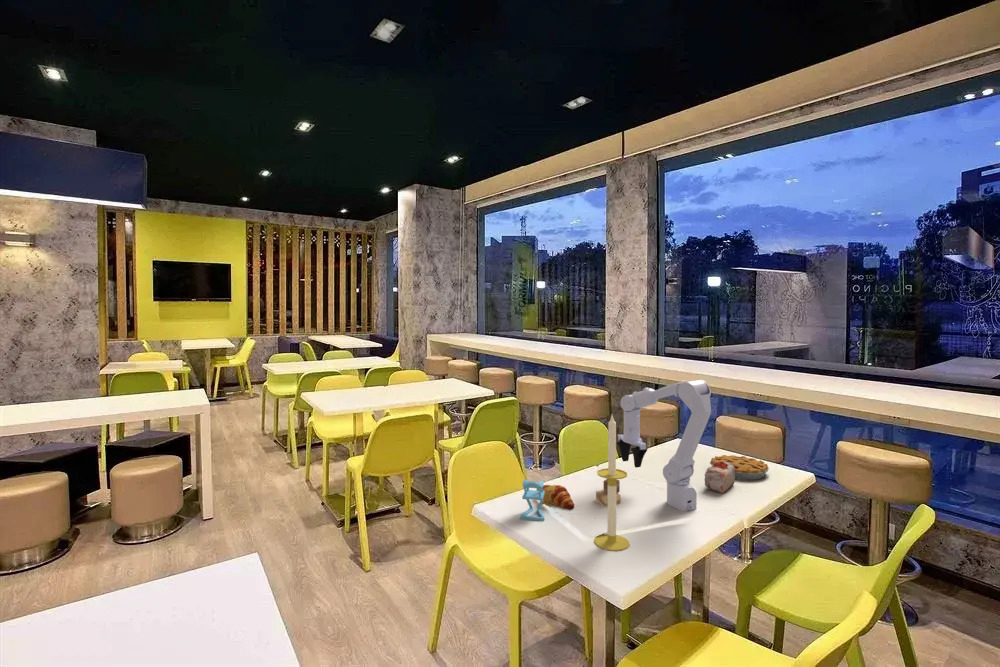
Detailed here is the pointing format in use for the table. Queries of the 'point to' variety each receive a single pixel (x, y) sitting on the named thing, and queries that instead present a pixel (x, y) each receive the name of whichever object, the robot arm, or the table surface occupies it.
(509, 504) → the table surface
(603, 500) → the oak base
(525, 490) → the chair
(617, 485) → the walnut block
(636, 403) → the robot arm
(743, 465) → the pie
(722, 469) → the food item
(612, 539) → the candle
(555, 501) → the croissant
